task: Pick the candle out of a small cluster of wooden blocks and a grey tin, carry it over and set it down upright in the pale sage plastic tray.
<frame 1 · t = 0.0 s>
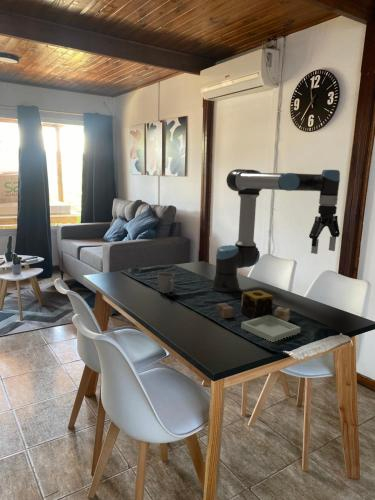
hand: (323, 252, 169), 28 cm above the table, fingers open, 13 cm apart
tray: (270, 330, 149), on the table
grey tin: (246, 307, 176), on the table
oak block: (281, 320, 160), on the table
mug: (167, 293, 194), on the table
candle: (256, 315, 165), on the table
walnut block: (224, 315, 165), on the table
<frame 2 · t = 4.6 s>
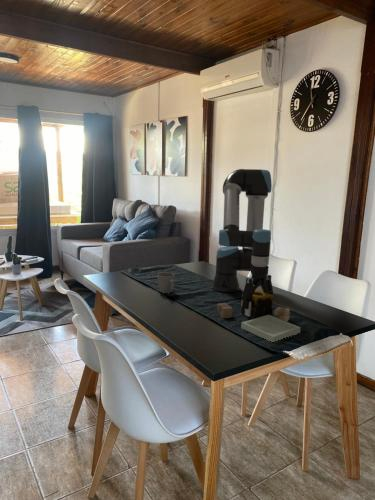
hand: (256, 313, 165), 1 cm above the table, fingers closed on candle, 11 cm apart
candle: (256, 315, 165), on the table, touching gripper
everything else where it was.
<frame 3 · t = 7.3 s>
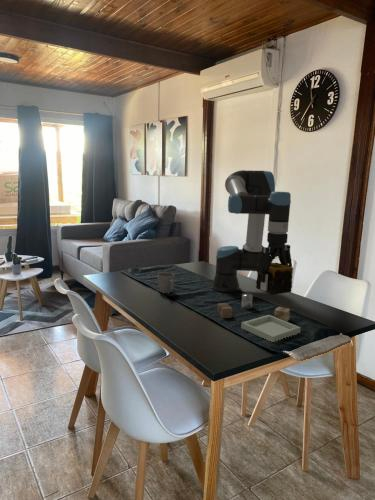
hand: (273, 288, 145), 18 cm above the table, fingers closed on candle, 11 cm apart
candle: (273, 290, 146), point 17 cm above the table, touching gripper
everything else where it was.
when the fingers open (3 cm above the table, at t = 10.4 s): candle drops 2 cm, resting on tray.
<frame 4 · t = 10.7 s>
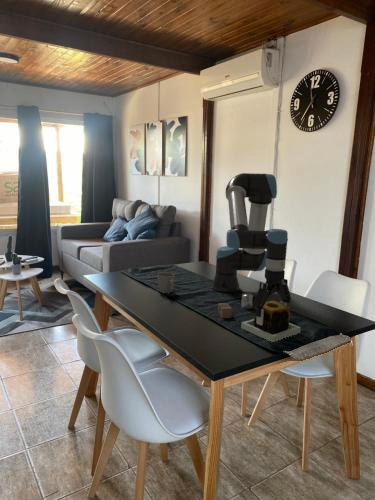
hand: (271, 320, 148), 4 cm above the table, fingers open, 13 cm apart
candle: (270, 329, 149), resting on tray
everything else where it was.
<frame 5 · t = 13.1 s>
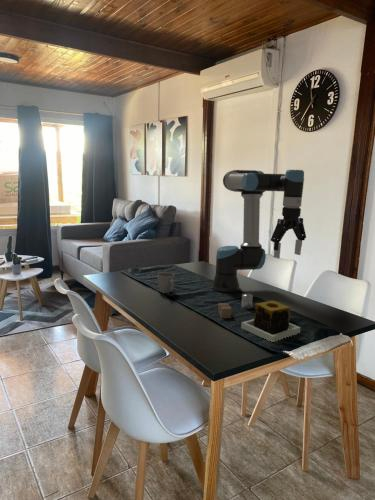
hand: (287, 256, 161), 27 cm above the table, fingers open, 13 cm apart
nothing on the table moved.
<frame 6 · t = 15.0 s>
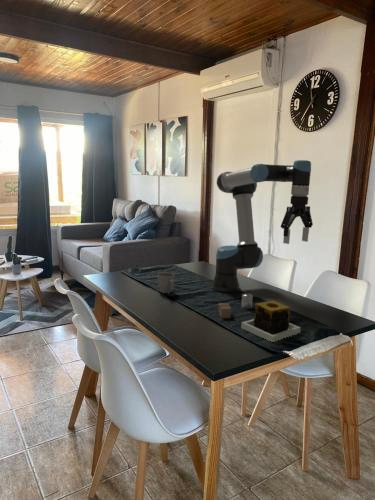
hand: (295, 242, 170), 32 cm above the table, fingers open, 13 cm apart
nothing on the table moved.
at the end: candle inside the target area on the tray (0.1 cm from its centre), point 0.4 cm above the tray's base; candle tilted 0°; the gripper is holding nothing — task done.
